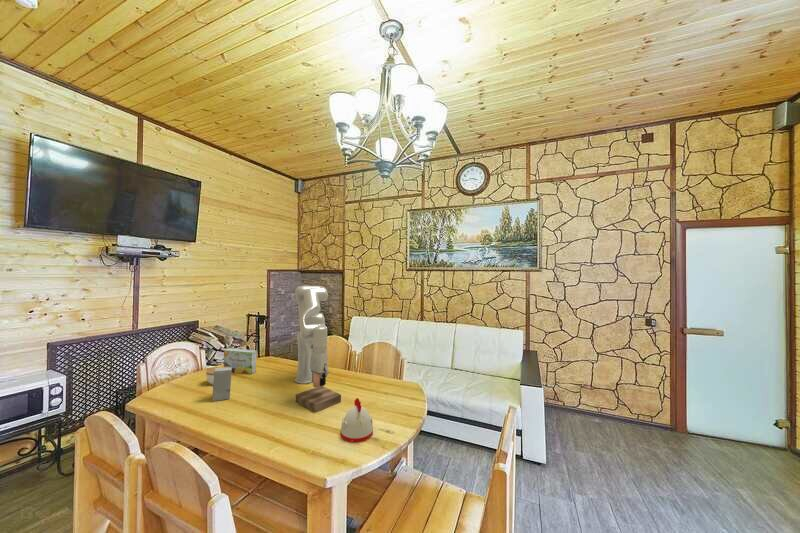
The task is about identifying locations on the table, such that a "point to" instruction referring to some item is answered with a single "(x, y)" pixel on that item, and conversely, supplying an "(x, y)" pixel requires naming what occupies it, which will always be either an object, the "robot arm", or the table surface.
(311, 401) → the walnut platform
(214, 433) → the table surface
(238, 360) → the snack box
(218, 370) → the skincare box
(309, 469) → the table surface
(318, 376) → the terracotta cylinder
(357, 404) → the kitchen timer
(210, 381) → the lidded jar
